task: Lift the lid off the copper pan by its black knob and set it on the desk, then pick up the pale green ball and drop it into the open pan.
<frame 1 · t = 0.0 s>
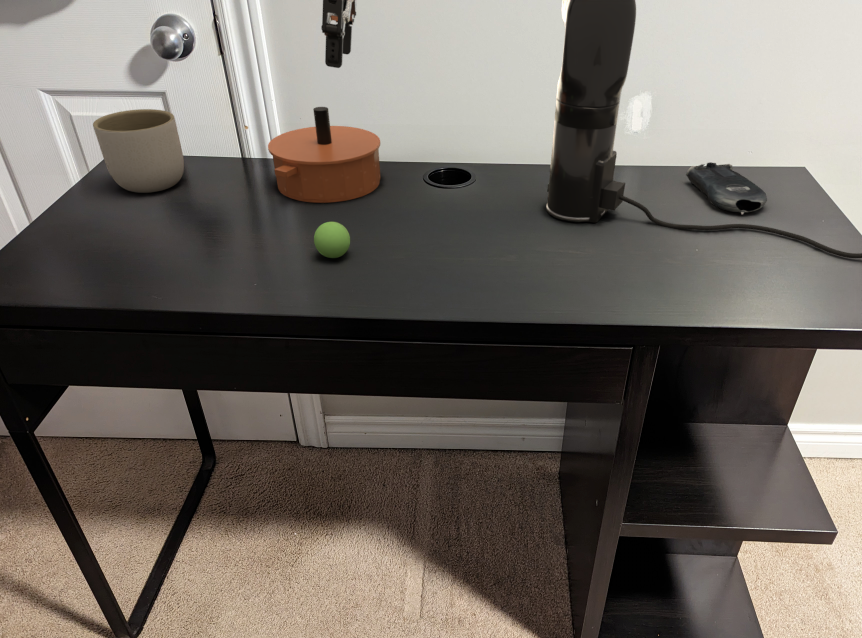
hand: (338, 59, 96), 22 cm above the table, tool pointing down, fingers open, 8 cm apart
planter: (152, 185, 118), on the table
lid: (325, 145, 115), point 6 cm above the table, touching pan
pan: (329, 182, 119), on the table
electronic device: (725, 198, 115), on the table
ball: (332, 240, 95), point 2 cm above the table
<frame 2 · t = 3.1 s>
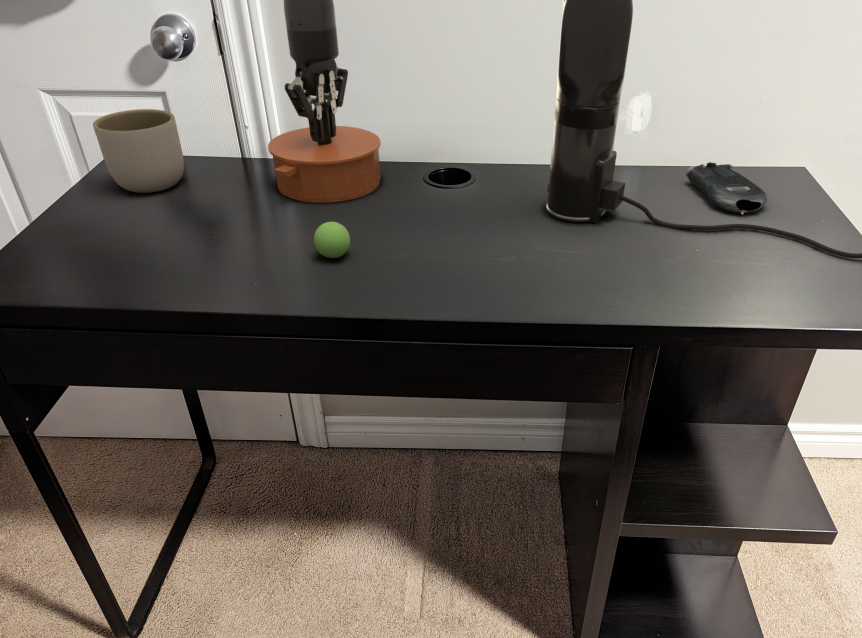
hand: (324, 138, 114), 8 cm above the table, tool pointing down, fingers closed on lid, 2 cm apart
lid: (325, 145, 115), point 6 cm above the table, touching gripper, pan
everything else where it was.
when the fingers open (2 cm above the table, at t = 11.0 s): lid stays where it is, point 1 cm above the table.
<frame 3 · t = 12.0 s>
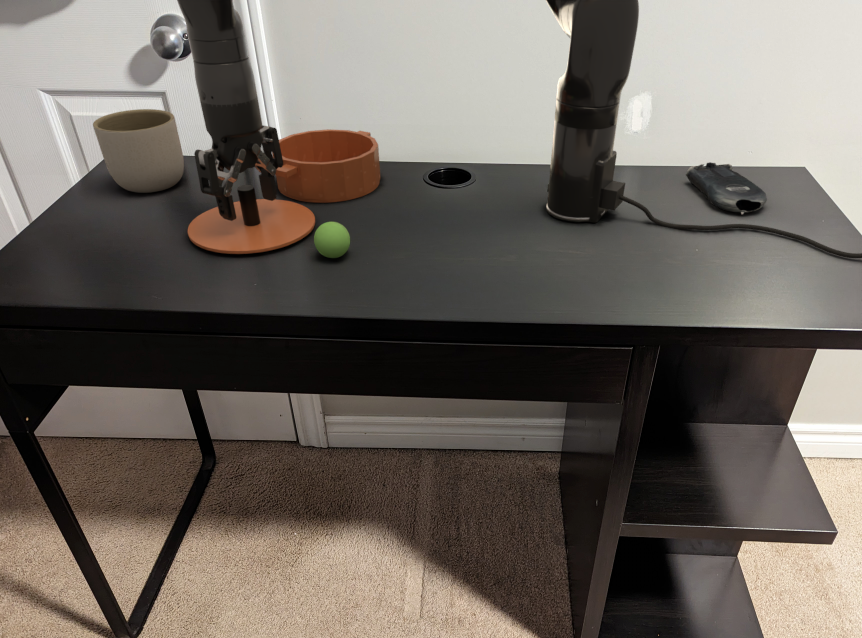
hand: (250, 208, 102), 3 cm above the table, tool pointing down, fingers open, 8 cm apart
lid: (252, 226, 103), point 1 cm above the table
everything else where it was.
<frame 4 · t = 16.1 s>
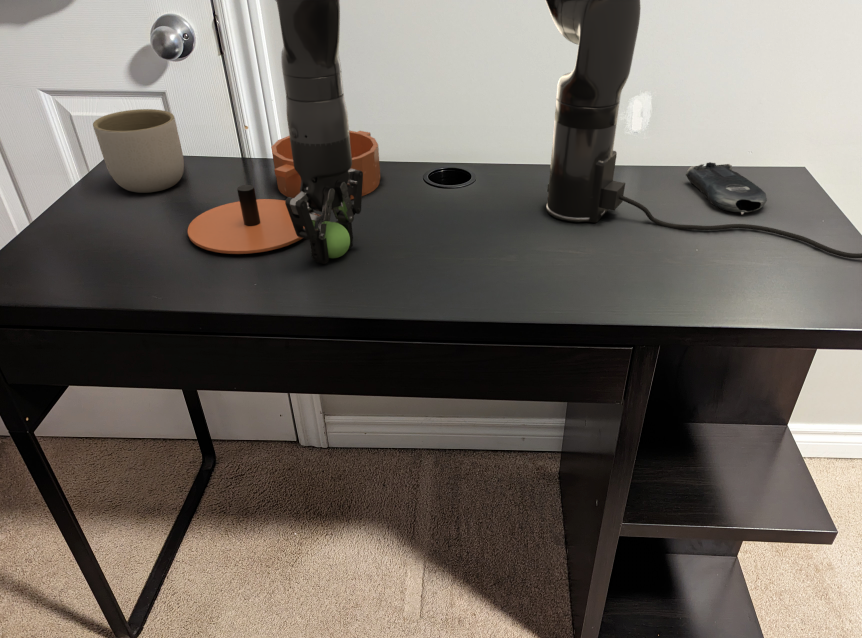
hand: (333, 253, 97), 0 cm above the table, tool pointing down, fingers closed on ball, 5 cm apart
ball: (332, 240, 95), point 2 cm above the table, touching gripper
everything else where it was.
when the fingers open (3 cm above the table, at t = 25.3 s): ball drops 2 cm, resting on pan.
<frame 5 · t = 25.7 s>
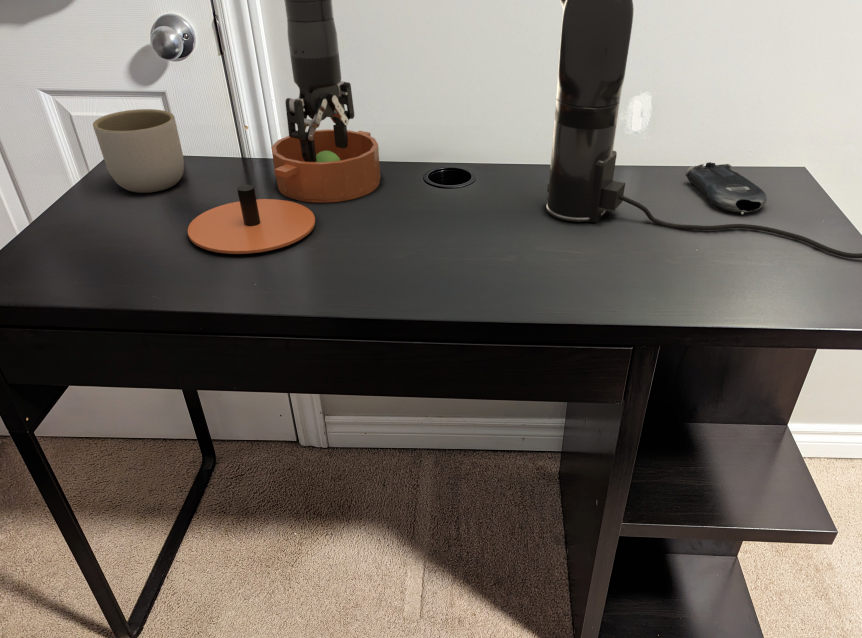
hand: (326, 154, 116), 5 cm above the table, tool pointing down, fingers open, 8 cm apart
ball: (327, 166, 117), point 3 cm above the table, touching pan
everything else where it was.
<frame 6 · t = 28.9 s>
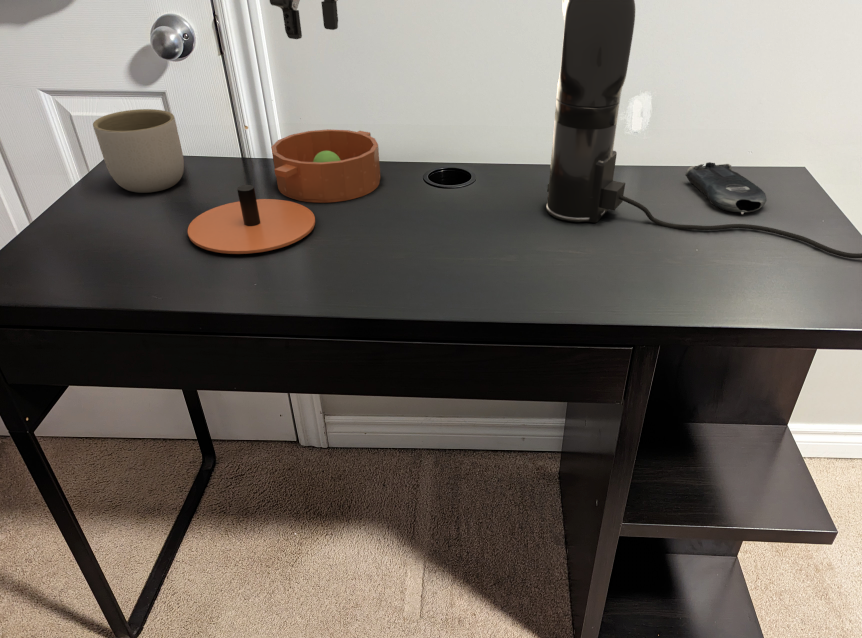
hand: (313, 33, 102), 24 cm above the table, tool pointing down, fingers open, 8 cm apart
nothing on the table moved.
at the end: ball inside the target area in the pan (0.0 cm from its centre), point 3.0 cm above the pan's base; lid inside the target area on the table beside the pan (0.5 cm from its centre), point 0.6 cm above the table; the gripper is holding nothing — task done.
